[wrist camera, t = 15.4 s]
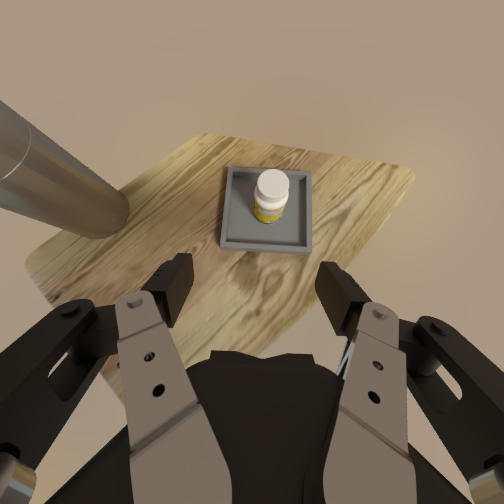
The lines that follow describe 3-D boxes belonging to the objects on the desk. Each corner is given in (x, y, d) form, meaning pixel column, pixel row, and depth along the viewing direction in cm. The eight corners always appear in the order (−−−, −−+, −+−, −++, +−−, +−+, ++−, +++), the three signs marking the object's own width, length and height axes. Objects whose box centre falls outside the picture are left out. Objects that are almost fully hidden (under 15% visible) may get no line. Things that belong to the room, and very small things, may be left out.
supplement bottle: (259, 195, 31) (262, 160, 23) (285, 205, 31) (298, 172, 23) (249, 220, 30) (248, 192, 22) (275, 229, 30) (285, 205, 22)
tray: (221, 249, 30) (219, 246, 28) (229, 174, 33) (228, 166, 31) (308, 255, 29) (312, 252, 27) (307, 178, 32) (311, 171, 31)
